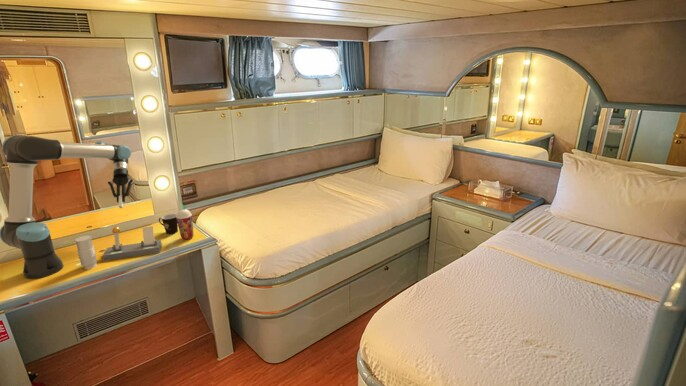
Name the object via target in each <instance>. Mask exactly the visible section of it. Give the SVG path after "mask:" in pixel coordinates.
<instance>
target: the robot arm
mask: <svg viewBox="0 0 686 386" xmlns="http://www.w3.org/2000/svg"><path fill="white" fill-rule="evenodd" d="M1 150H2V153H3V154H4V155H5V163H6V164H7V165H8V166H9V167H10V168H9V197H8V199H9V200H8V216H7V217H6V218H5V219H3V220H4V222H3V226H1V228H0V240H1V241H2V242H3V243H4V244H5V245H7V246H9V247H13V248H16V249H19V250H21V252H22V257H23V259H24V261H23V268H22V273H23V277H24V278H26V279H40V278H45V277H48V276H51V275H53V274H56V273H58V272H59V271H61V270H62V269H63V268H64V263H63V261H62V260H61V258H60V257H59V256H58V255H57V253H56V251H55V248H54V244H53V240H52V236H51V232H50V229H49V227H48V225H47V224H46V223H44V222H40V221H39V222H36V218H35V217H34V216H33V195H34V193H33V192H34V169H35V167H36V166H38V164H39V162H40V161H58V160H60V159H61V158H62V159H107V160H109V161H112V162H113V163H112V164H113V169H112V171H113V175H112V176H113V178H112V180H111V181H107V184H108V185H109V187H110V189H111V190H110V191H111V194H112V196H113V198H116V202H117V204H118V207H119V209H124V203H125V202H126V197H129V195H130V192H131V190H132V189H131V188H132V186H133V185H134V182H135V181H134V180H133V179H130V178H129V158H130V157H131V154H132V151H131V147H129V146H126V145H123V144H122V145H119V144H118V145H117V144H110V143H106V142H103V141H101V140H99V141H96V142H95V143H86V142H85V143H81V142H78V143H77V142H64V141H60V140H57V139H49V138H45V137H39V136H34V135H33V136H32V135H23V134H16V135H11V136H9V137H7V138H6V139H4V140H3V142H2V145H1ZM114 184H115V185H116V190H115V187H114Z"/></svg>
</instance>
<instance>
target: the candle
mask: <svg viewBox="0 0 686 386" xmlns="http://www.w3.org/2000/svg"><path fill="white" fill-rule="evenodd" d="M92 240H93V239H92V235H83V236H79V237H77V238H75V239H74V242H75V244H76V245H75V246H76V247H77V256H78V259H79V260H80V265H81V266H82V269H83V270H90V269H93V268H96V267H97V266H98V264H97V262H98V259H97V256H96V255H97V253H96V249H95V246H94V244H93V241H92Z"/></svg>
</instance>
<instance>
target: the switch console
mask: <svg viewBox="0 0 686 386" xmlns="http://www.w3.org/2000/svg"><path fill="white" fill-rule="evenodd" d="M154 239H155V243H152V244H145V245H144V240H141V242H138V243H131V244H130V243H129V244H125V245H123V243H120V245H119V248H118V249H116V247H115V244H112V246H111V247H110V246H109V247H106V249H105V251H104V253H103V254H102V259H103V262H107V261H113V260H119V259H127V258H132V257H140V256H146V255H152V254H159V253H161V249H162V246H163V243H162V240H161V239H157V238H154Z"/></svg>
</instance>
